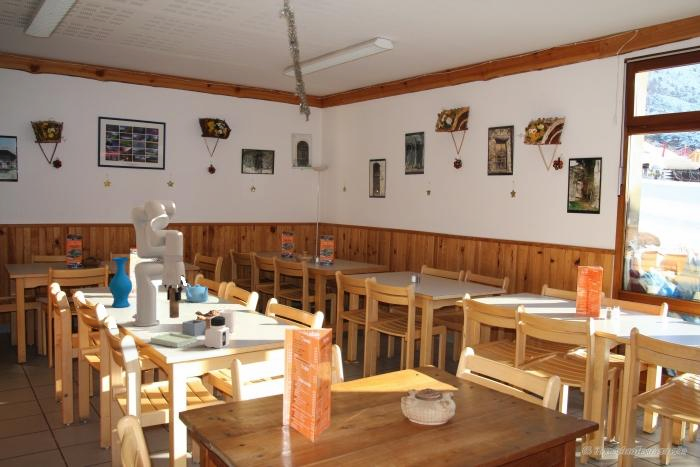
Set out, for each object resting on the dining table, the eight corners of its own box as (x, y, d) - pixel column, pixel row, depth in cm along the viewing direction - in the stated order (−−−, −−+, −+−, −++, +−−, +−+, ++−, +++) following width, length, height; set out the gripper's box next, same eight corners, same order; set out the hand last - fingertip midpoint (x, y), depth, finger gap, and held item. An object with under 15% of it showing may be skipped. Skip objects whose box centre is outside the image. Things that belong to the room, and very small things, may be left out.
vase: (136, 306, 351) (136, 258, 349) (118, 309, 340) (117, 259, 338) (123, 303, 357) (123, 256, 355) (104, 306, 347) (104, 258, 345)
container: (229, 344, 268) (229, 315, 267) (220, 348, 261) (220, 319, 260) (214, 342, 271) (214, 314, 270) (204, 347, 264) (205, 317, 263)
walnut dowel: (167, 317, 269) (167, 288, 268) (174, 315, 272) (174, 287, 271) (174, 318, 267) (174, 289, 266) (180, 316, 270) (180, 288, 269)
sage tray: (150, 342, 269) (150, 337, 269) (170, 337, 279) (170, 332, 279) (177, 347, 261) (177, 342, 261) (196, 342, 272) (196, 337, 272)
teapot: (210, 299, 379) (211, 282, 378) (208, 303, 364) (208, 286, 364) (186, 299, 377) (186, 282, 376) (183, 303, 362) (183, 286, 362)
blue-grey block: (182, 334, 284) (182, 322, 284) (193, 331, 291) (194, 319, 291) (194, 337, 281) (194, 324, 280) (205, 333, 287) (206, 321, 287)
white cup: (231, 334, 288) (231, 313, 287) (216, 332, 290) (216, 312, 289) (238, 330, 296) (238, 310, 295) (222, 329, 297) (223, 309, 297)
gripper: (154, 258, 269) (154, 299, 270) (181, 261, 260) (181, 303, 262) (166, 257, 275) (166, 297, 276) (194, 259, 267) (194, 300, 268)
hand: (174, 299), depth 269 cm, fingers closed on walnut dowel, 4 cm apart
